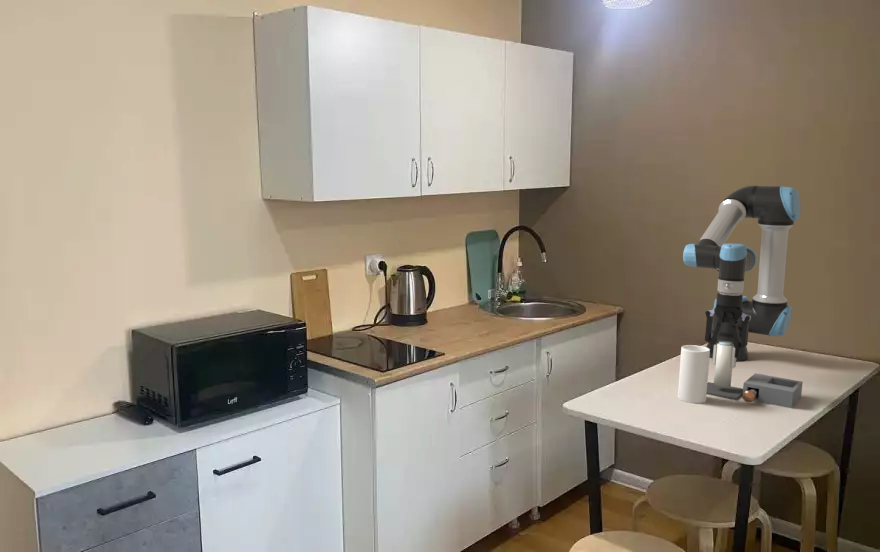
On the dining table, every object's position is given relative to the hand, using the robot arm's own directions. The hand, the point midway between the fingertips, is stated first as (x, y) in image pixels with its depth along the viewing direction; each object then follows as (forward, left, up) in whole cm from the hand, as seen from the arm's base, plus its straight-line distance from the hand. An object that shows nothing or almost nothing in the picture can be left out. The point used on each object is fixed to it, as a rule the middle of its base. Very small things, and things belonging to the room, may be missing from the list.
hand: (723, 365), depth 228 cm
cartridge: (0, 0, -6) cm, 6 cm away
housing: (-4, +14, -9) cm, 17 cm away
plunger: (+3, +10, -8) cm, 13 cm away
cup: (+14, -5, -9) cm, 17 cm away
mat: (0, 0, -9) cm, 9 cm away
